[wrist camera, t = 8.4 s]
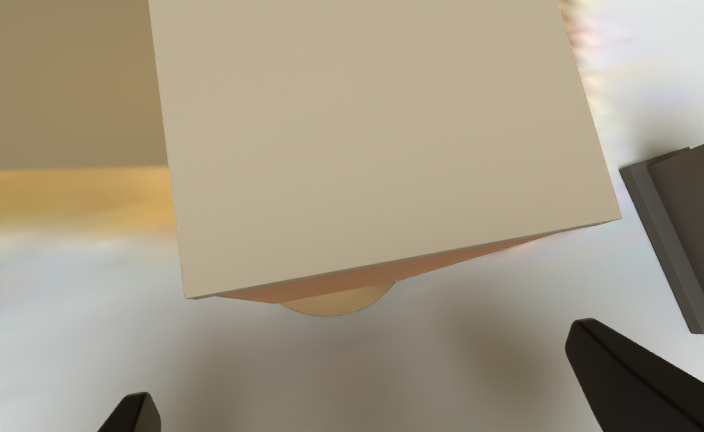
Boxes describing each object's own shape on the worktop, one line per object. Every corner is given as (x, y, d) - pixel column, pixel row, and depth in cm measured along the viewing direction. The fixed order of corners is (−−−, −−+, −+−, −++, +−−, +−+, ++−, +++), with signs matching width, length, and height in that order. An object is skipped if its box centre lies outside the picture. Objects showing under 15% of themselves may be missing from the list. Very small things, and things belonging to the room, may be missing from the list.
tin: (404, 280, 19) (633, 216, 6) (274, 305, 18) (185, 298, 5) (380, 160, 19) (525, -139, 6) (255, 180, 19) (134, -110, 6)
